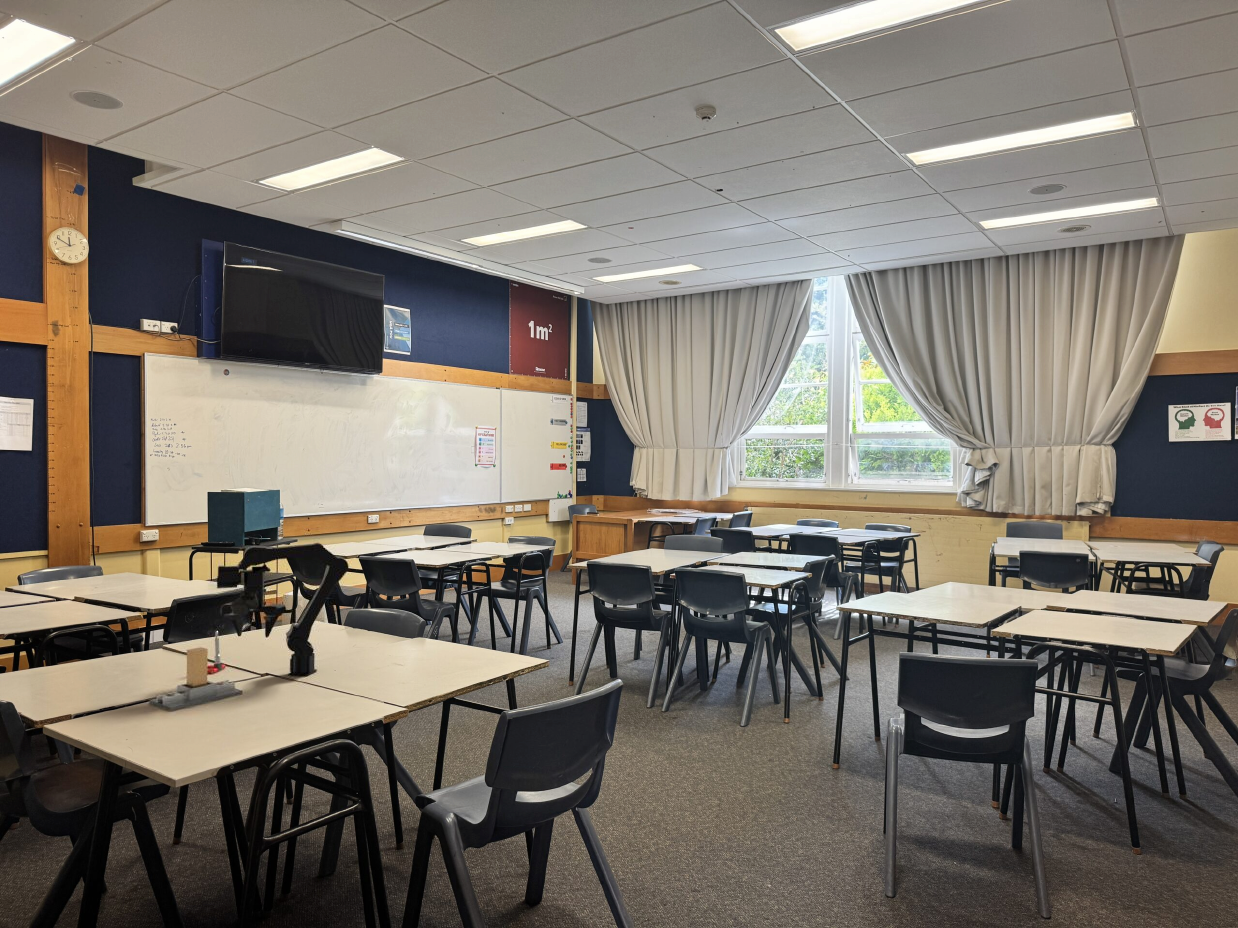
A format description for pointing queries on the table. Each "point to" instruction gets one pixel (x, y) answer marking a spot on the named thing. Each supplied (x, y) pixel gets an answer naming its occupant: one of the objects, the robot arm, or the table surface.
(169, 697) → the grey fixture tray
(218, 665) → the tow hook
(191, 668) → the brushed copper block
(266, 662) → the table surface
